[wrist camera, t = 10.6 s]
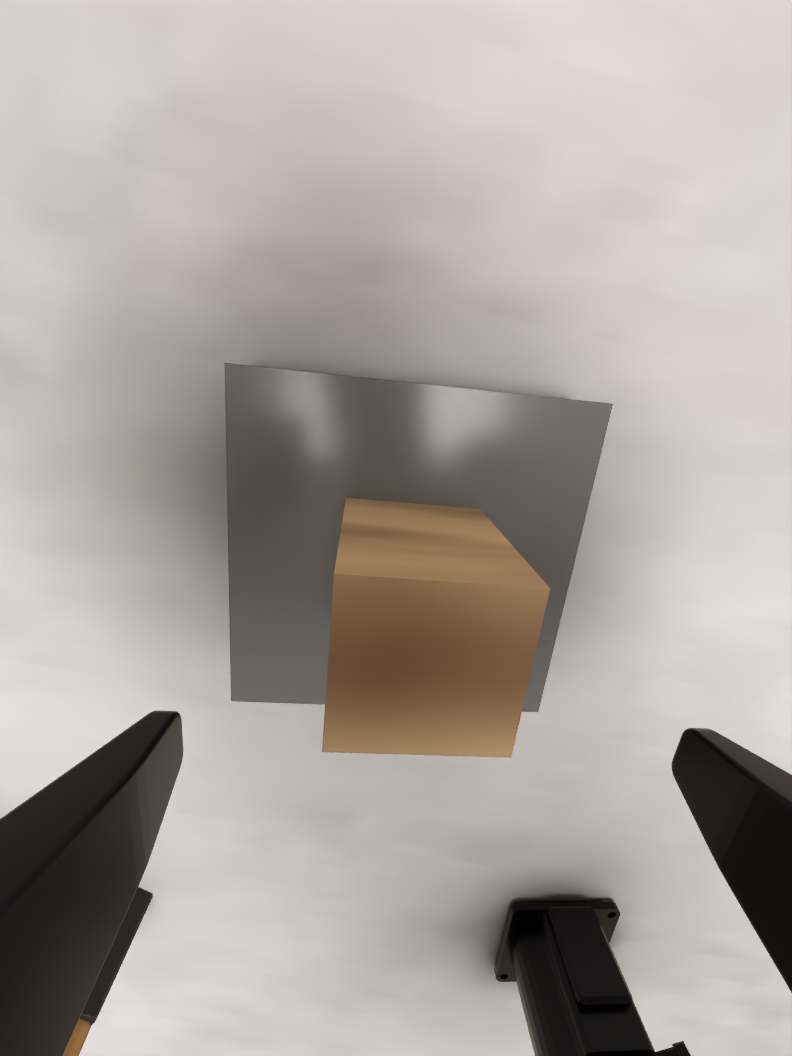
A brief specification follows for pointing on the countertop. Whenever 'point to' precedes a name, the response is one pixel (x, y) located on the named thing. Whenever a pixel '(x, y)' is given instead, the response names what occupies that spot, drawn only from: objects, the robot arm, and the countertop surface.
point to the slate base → (383, 499)
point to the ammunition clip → (109, 970)
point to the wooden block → (428, 633)
